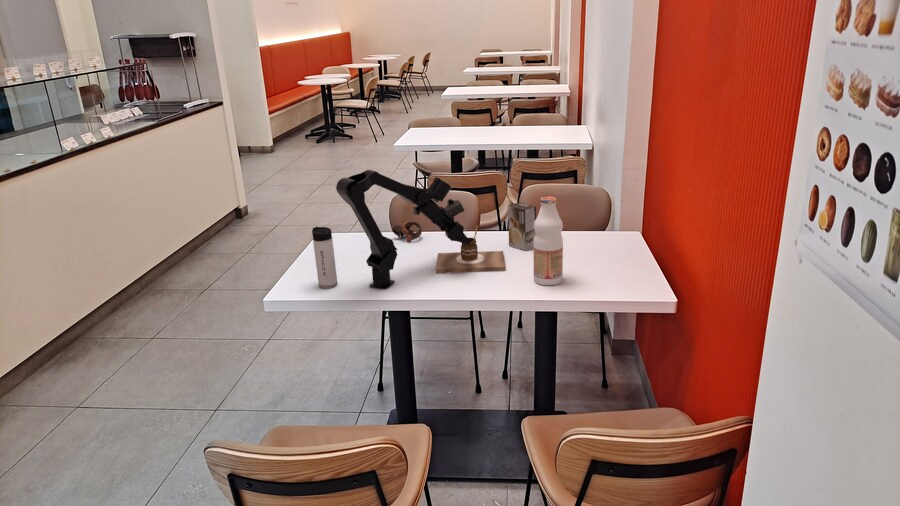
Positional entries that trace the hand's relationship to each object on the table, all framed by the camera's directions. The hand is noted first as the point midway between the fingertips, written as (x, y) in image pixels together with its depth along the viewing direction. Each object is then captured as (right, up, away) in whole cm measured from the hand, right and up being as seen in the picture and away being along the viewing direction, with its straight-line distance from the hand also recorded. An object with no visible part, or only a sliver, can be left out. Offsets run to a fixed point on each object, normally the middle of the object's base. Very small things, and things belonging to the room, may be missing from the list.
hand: (465, 239), depth 223 cm
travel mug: (-47, -16, -9) cm, 50 cm away
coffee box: (+22, -3, +18) cm, 29 cm away
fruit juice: (+27, -14, -14) cm, 33 cm away
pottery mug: (-23, +1, +33) cm, 40 cm away
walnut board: (+2, -9, +4) cm, 10 cm away
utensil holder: (+1, -7, +3) cm, 8 cm away
